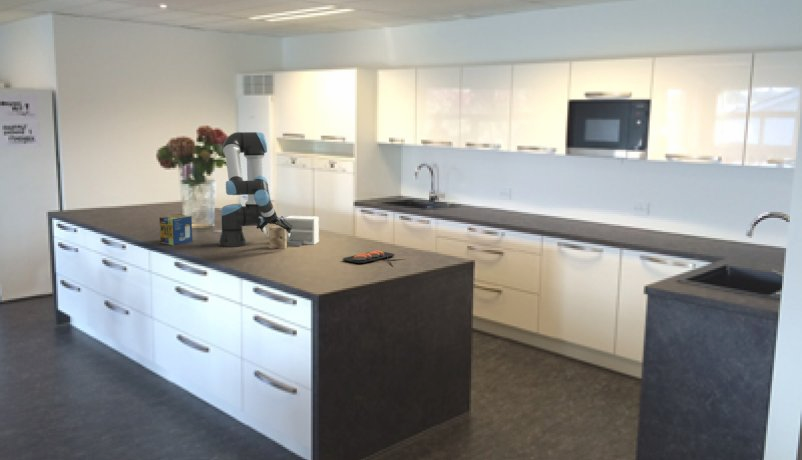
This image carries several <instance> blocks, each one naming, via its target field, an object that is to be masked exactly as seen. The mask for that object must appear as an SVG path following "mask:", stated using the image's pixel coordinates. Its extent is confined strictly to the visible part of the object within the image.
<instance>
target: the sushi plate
mask: <svg viewBox="0 0 802 460" xmlns="http://www.w3.org/2000/svg"><path fill="white" fill-rule="evenodd" d="M393 256H395V254H394V253H392V252H387V251H381V250H372V251H370V252H365V253H359V254H356V255H355V254H354V255H351V256H347V257H343V258H342V260H343V261H345V262H350V263H355V264H364V263H369V262H373V261H374V262H375V261H376V262H379V261H380V262H381V261H383V262H384V261H385V262H386V261H388V262H389V264H390V266H391V267H392V268H394V265H393V263H392V262H391V261H403V260H404V261H405V260H406V258H397V259H393V258H392V259H390V257H393ZM386 258H387V259H386Z"/></svg>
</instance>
